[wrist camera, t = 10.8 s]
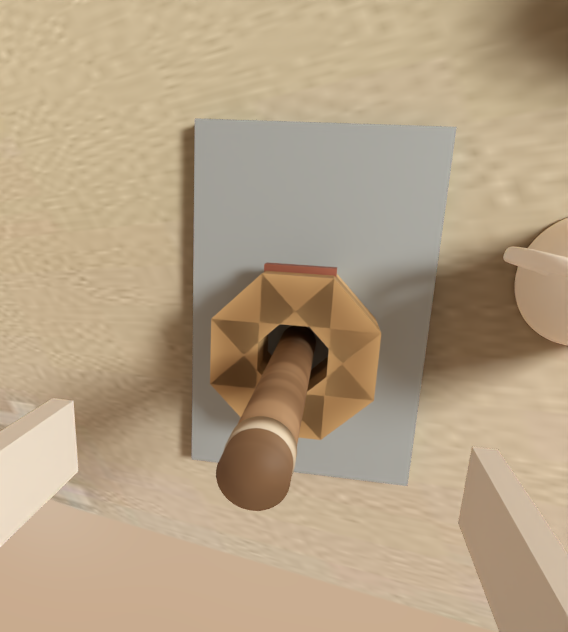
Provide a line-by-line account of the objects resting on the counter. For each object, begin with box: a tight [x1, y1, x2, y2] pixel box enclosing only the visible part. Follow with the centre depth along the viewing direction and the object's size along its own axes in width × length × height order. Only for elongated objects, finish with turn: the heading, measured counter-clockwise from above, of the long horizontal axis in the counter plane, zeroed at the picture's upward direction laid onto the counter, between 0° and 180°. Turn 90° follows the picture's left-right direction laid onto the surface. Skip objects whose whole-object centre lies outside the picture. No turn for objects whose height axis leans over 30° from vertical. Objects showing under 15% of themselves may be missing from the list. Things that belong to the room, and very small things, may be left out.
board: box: [192, 119, 456, 486], centre depth 29 cm, size 24×16×1 cm, turn 177°
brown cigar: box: [216, 325, 316, 511], centre depth 21 cm, size 2×2×16 cm
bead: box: [210, 262, 381, 440], centre depth 27 cm, size 11×10×4 cm
